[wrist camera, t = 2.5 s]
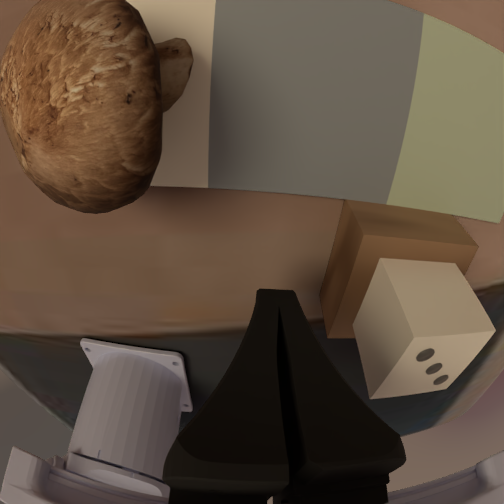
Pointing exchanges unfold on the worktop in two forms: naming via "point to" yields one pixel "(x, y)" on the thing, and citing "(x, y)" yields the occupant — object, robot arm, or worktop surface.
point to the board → (334, 103)
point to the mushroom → (89, 100)
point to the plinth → (383, 253)
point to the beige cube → (418, 327)
